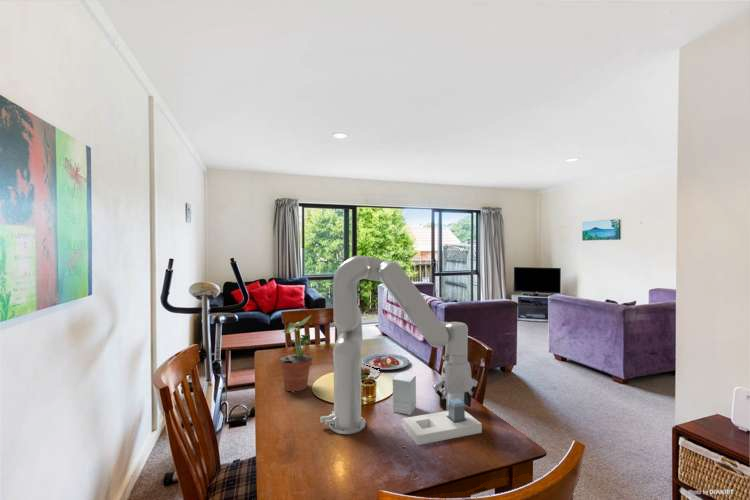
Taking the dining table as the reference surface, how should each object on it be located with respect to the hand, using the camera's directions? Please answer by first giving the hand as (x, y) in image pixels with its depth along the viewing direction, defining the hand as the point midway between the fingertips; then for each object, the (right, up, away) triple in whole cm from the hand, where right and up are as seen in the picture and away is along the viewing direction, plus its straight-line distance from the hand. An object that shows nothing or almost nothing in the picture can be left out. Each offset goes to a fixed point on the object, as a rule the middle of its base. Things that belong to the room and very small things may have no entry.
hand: (455, 407), depth 120 cm
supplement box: (-17, -7, +13) cm, 22 cm away
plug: (0, -7, 0) cm, 7 cm away
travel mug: (+4, -7, +15) cm, 17 cm away
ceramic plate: (-22, -8, +67) cm, 71 cm away
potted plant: (-64, -7, +35) cm, 74 cm away
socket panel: (-5, -7, -2) cm, 9 cm away
